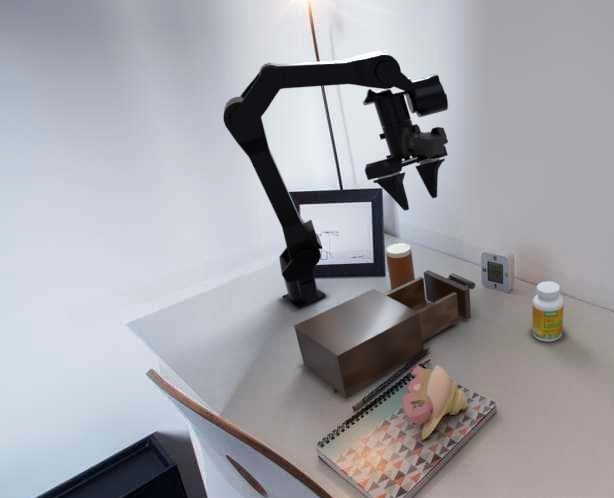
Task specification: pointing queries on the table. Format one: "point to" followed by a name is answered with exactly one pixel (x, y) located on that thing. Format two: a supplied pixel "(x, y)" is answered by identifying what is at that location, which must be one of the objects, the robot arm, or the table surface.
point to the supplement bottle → (548, 312)
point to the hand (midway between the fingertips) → (421, 203)
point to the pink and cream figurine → (431, 398)
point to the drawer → (436, 300)
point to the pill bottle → (400, 264)
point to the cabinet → (359, 341)
